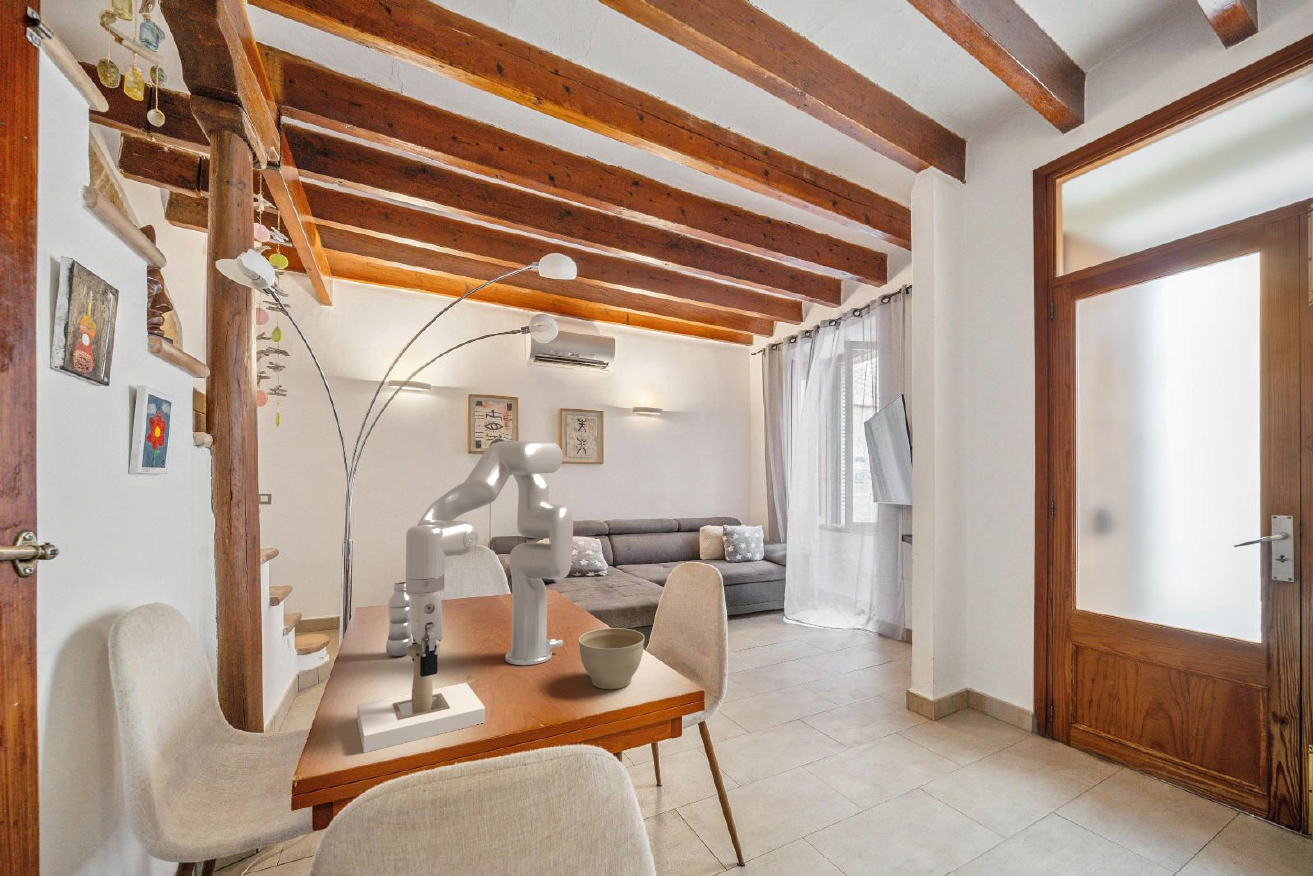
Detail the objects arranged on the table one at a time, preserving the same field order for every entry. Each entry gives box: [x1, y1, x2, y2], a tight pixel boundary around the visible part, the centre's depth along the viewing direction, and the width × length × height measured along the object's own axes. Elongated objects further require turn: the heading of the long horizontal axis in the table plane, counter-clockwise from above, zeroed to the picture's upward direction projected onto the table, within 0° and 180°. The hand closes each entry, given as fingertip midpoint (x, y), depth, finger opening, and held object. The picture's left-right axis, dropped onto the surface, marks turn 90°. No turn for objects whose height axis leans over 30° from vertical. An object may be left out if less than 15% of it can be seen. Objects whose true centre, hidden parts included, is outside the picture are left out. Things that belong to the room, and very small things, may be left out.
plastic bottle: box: [385, 581, 413, 657], centre depth 152 cm, size 6×7×20 cm
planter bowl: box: [578, 627, 645, 690], centre depth 132 cm, size 16×16×11 cm
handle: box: [406, 643, 441, 714], centre depth 112 cm, size 5×6×15 cm
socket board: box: [356, 682, 486, 754], centre depth 111 cm, size 22×16×3 cm
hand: (424, 667), depth 112 cm, fingers open, 9 cm apart
